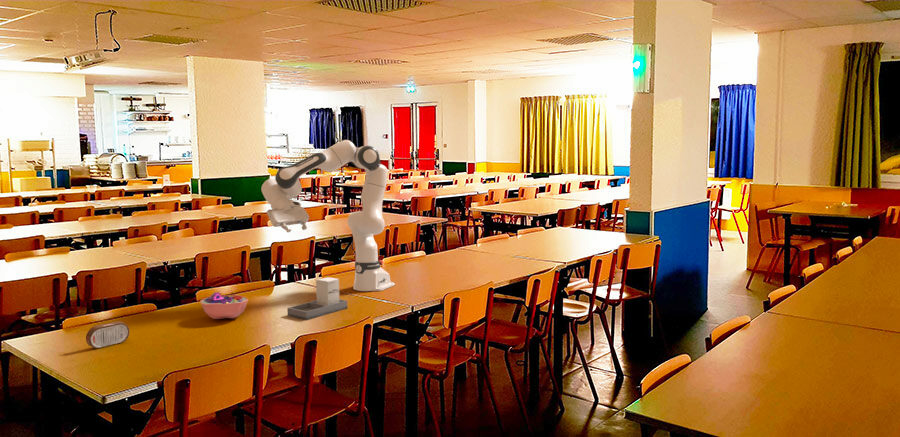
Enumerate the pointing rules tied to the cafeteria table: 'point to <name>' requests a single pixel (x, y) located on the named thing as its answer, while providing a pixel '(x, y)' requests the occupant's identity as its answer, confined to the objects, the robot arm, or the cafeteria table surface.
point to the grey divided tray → (315, 309)
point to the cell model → (224, 305)
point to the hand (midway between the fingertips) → (297, 230)
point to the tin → (107, 334)
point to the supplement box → (327, 291)
